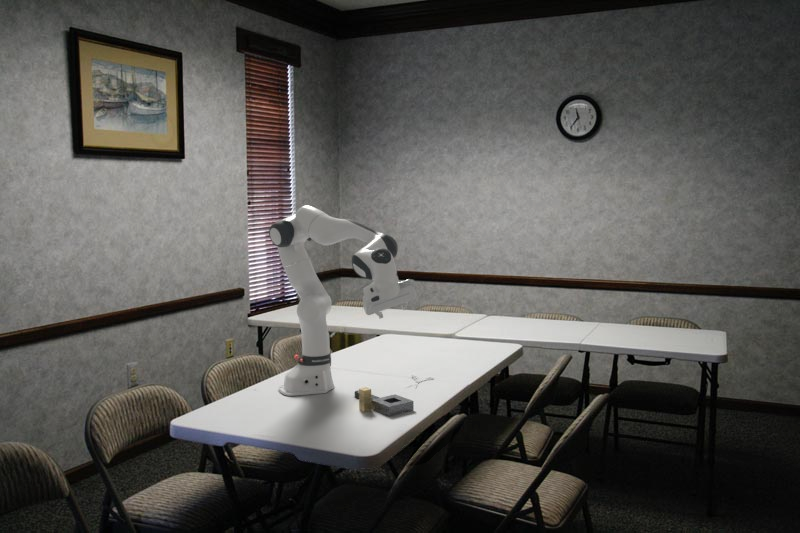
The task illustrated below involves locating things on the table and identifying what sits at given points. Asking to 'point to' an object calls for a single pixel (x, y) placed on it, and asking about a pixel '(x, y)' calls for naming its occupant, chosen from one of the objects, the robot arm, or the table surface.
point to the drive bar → (365, 399)
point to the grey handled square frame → (390, 404)
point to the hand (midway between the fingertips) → (392, 312)
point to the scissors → (420, 381)
